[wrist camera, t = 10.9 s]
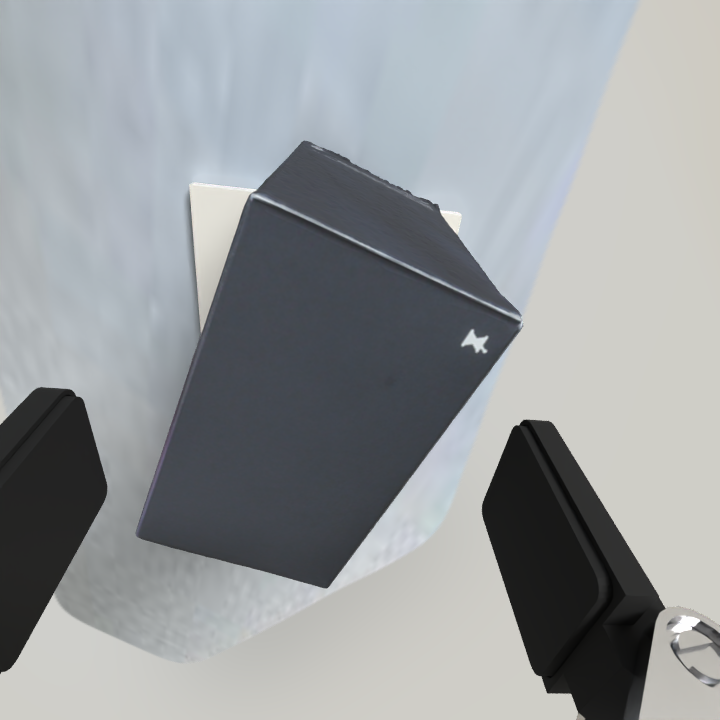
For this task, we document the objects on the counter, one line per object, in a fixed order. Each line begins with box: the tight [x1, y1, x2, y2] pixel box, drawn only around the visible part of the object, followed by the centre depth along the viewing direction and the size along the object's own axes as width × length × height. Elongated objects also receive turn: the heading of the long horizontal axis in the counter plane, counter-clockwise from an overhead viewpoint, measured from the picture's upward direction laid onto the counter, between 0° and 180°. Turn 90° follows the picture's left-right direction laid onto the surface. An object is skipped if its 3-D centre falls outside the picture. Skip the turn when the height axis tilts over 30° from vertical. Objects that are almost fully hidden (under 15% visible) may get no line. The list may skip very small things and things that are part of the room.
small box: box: [136, 141, 523, 588], centre depth 15 cm, size 11×6×10 cm, turn 155°
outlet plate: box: [189, 182, 462, 333], centre depth 20 cm, size 8×11×1 cm
